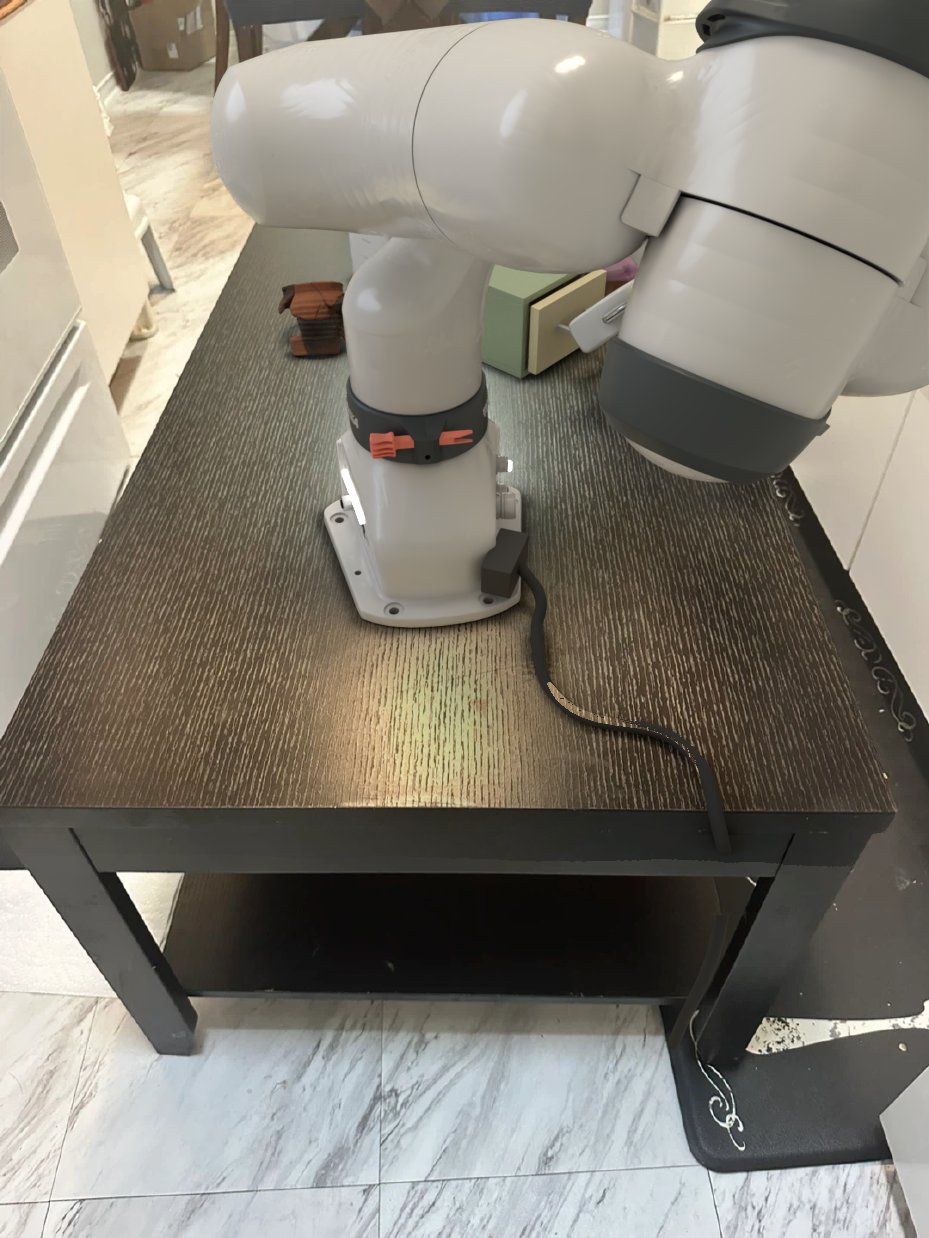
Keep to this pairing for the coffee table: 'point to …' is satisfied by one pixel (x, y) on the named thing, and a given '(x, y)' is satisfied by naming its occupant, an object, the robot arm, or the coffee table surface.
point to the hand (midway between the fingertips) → (599, 326)
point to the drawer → (559, 318)
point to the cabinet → (512, 315)
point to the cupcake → (619, 275)
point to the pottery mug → (315, 316)
